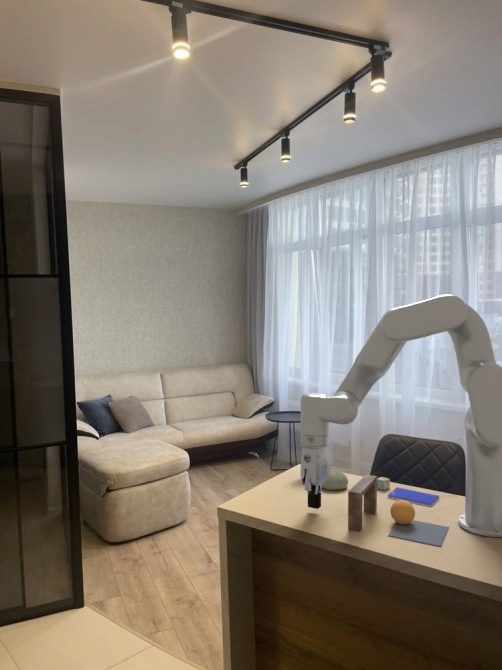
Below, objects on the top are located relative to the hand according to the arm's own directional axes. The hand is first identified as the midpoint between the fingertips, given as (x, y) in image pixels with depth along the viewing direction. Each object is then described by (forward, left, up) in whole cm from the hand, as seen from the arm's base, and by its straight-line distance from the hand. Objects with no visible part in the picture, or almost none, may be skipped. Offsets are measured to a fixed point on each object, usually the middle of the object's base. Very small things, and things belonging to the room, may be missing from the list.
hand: (314, 506), depth 137 cm
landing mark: (-27, -1, -2) cm, 27 cm away
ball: (-22, -4, +2) cm, 23 cm away
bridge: (-13, -1, -2) cm, 13 cm away
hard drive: (-21, -24, -2) cm, 32 cm away
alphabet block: (-11, -28, -2) cm, 30 cm away
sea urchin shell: (+3, -22, -2) cm, 22 cm away
